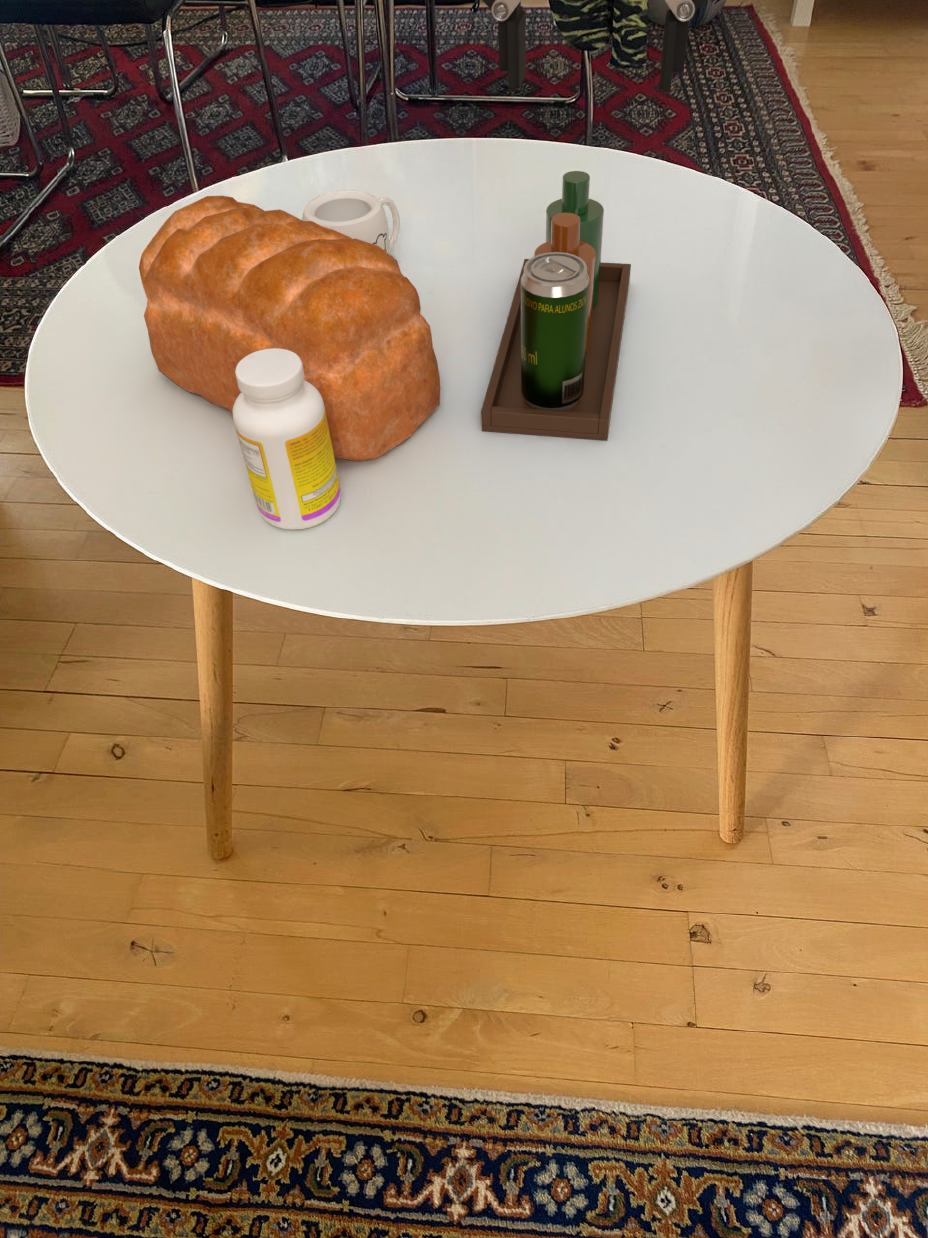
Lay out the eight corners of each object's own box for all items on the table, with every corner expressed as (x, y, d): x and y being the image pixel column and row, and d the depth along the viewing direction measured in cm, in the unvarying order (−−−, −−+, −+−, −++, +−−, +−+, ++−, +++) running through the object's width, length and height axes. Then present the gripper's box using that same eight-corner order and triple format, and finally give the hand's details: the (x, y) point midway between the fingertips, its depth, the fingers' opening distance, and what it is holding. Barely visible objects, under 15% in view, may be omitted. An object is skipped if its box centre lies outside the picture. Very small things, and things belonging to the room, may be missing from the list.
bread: (251, 311, 98) (215, 153, 87) (461, 399, 87) (451, 230, 75) (143, 378, 91) (88, 215, 80) (356, 484, 80) (328, 311, 68)
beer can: (595, 393, 86) (604, 263, 77) (557, 423, 83) (561, 292, 74) (546, 371, 88) (549, 243, 79) (508, 400, 85) (506, 271, 77)
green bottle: (600, 287, 97) (608, 164, 88) (595, 315, 94) (603, 190, 85) (548, 284, 98) (550, 162, 89) (541, 312, 95) (543, 188, 86)
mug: (355, 310, 98) (344, 234, 92) (294, 286, 101) (280, 211, 95) (432, 260, 104) (426, 185, 98) (372, 239, 107) (363, 166, 102)
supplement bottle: (349, 479, 80) (325, 340, 71) (333, 535, 76) (306, 395, 66) (268, 476, 81) (234, 339, 71) (249, 532, 76) (209, 392, 67)
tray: (629, 283, 99) (631, 263, 97) (607, 440, 82) (608, 420, 80) (524, 277, 100) (524, 258, 99) (481, 431, 84) (480, 410, 82)
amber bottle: (592, 331, 92) (600, 205, 83) (587, 363, 89) (594, 235, 80) (537, 328, 93) (539, 203, 84) (530, 359, 89) (530, 232, 81)
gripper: (427, -252, 50) (448, 103, 63) (776, -268, 47) (726, 108, 60) (455, -272, 55) (470, 61, 68) (773, -288, 52) (727, 63, 65)
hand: (590, 83), depth 64 cm, fingers open, 9 cm apart
